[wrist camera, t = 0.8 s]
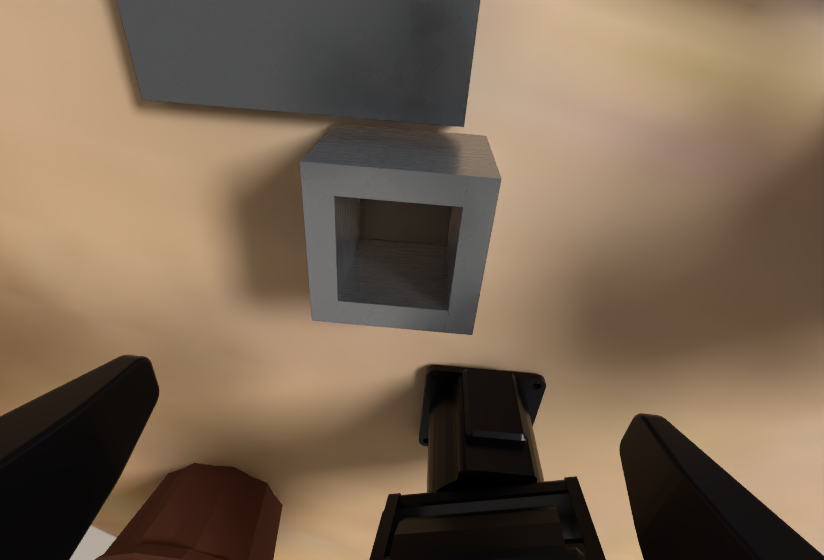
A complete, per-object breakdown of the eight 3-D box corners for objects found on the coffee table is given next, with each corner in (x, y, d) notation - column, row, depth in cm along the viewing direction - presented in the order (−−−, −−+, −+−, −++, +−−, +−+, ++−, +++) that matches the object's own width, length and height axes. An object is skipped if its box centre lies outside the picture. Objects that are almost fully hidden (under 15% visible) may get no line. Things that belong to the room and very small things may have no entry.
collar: (465, 266, 20) (472, 334, 16) (339, 255, 20) (311, 320, 16) (486, 136, 17) (501, 178, 12) (335, 123, 17) (299, 161, 13)
